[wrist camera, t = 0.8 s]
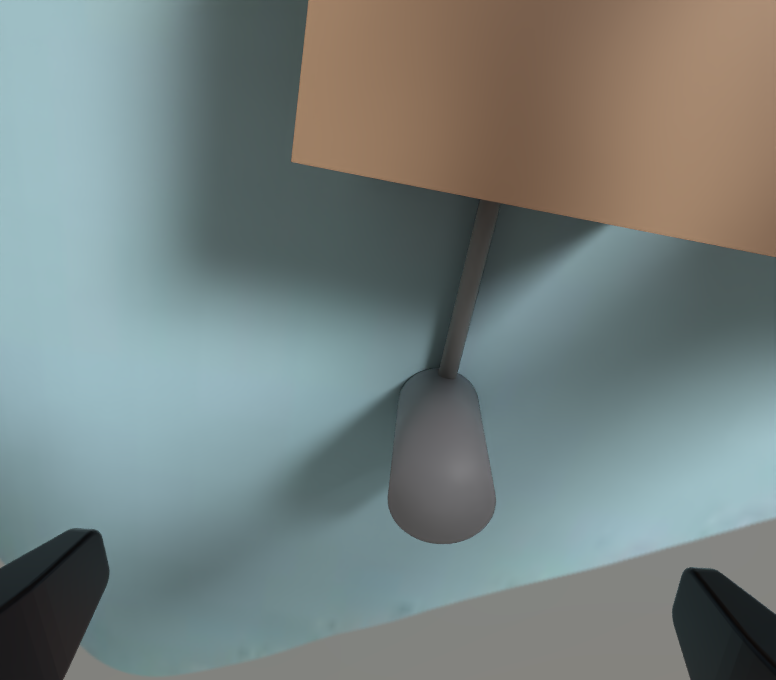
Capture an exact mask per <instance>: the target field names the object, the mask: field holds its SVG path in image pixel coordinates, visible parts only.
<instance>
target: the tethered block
mask: <svg viewBox="0 0 776 680" xmlns="http://www.w3.org/2000/svg"><path fill="white" fill-rule="evenodd" d="M500 204H501V203H498V202H493V201H487V200H482V199H480V202H479V206H478V210H477V214H476V218H475V222H474V227H473V231H472V235H471V239H470V243H469V247H468V251H467V256H466V260H465V264H464V268H463V272H462V276H461V280H460V285H459V289H458V293H457V297H456V301H455V305H454V309H453V314H452V318H451V322H450V326H449V330H448V334H447V338H446V343H445V347H444V351H443V355H442V359H441V363H440V367H439V368H434V369H428V370H424V371H422V372H419V373H417V374H415V375H414V376H413V377H411V378H410V379H409V380H408V381H407V382H406V383H405V385H404V386H403V388H402V390H401V392H400V395H399V400H398V408H397V417H396V426H395V435H394V445H393V454H392V463H391V472H390V481H389V490H388V506H389V510H390V513H391V515H392V517H393V519H394V520H395V522H396V523H397V524H398V526H399V527H400V528H401V529H402V530H404V531H405V532H406V533H408V534H409V535H411V536H413V537H415V538H417V539H419V540H422V541H425V542H429V543H435V544H451V543H457V542H460V541H464V540H466V539H469V538H471V537H473V536H474V535H476V534H477V533H479V532H480V531H481V530H482V529H483V528H484V527H485V526H486V525H487V524H488V523H489V521H490V519H491V518H492V516H493V513H494V510H495V505H496V497H495V490H494V485H493V479H492V474H491V468H490V462H489V457H488V451H487V446H486V440H485V435H484V429H483V423H482V418H481V412H480V407H479V401H478V396H477V393H476V391H475V389H474V387H473V385H472V384H471V383H470V381H468V380H467V379H466V378H465V377H464V376H462V375H461V374H459V373H457V372H458V368H459V364H460V360H461V356H462V353H463V349H464V345H465V341H466V337H467V333H468V329H469V325H470V321H471V317H472V314H473V310H474V306H475V302H476V298H477V294H478V290H479V286H480V282H481V278H482V275H483V271H484V267H485V263H486V259H487V255H488V251H489V247H490V243H491V239H492V236H493V232H494V228H495V224H496V220H497V216H498V212H499V208H500Z"/></svg>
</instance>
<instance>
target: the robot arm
mask: <svg viewBox="0 0 776 680" xmlns="http://www.w3.org/2000/svg"><path fill="white" fill-rule="evenodd" d="M108 579H109V565H108V561H107V556H106V552H105V547H104V543H103V539H102V535H101V534H100V532H99V531H97V530H95V529H82V528H74V529H70V530H67V531H66V532H64V533H62V534H60V535H58V536H57V537H55V538H53V539H51V540H50V541H48V542H46V543H44V544H42V545H41V546H39V547H37V548H35V549H34V550H32V551H30V552H28V553H26V554H25V555H23V556H21V557H19V558H18V559H16V560H14V561H12V562H10V563H9V564H7V565H5V566H3V567H2V568H0V680H63V679H64V677H65V675H66V673H67V671H68V669H69V667H70V664H71V662H72V660H73V658H74V655H75V653H76V651H77V649H78V647H79V645H80V643H81V640H82V638H83V636H84V634H85V632H86V629H87V627H88V625H89V623H90V621H91V618H92V616H93V614H94V612H95V610H96V608H97V605H98V603H99V601H100V599H101V597H102V594H103V592H104V590H105V588H106V585H107V583H108ZM672 617H673V623H674V627H675V630H676V633H677V637H678V640H679V644H680V647H681V650H682V653H683V657H684V660H685V663H686V667H687V670H688V673H689V676H690V679H691V680H776V614H775V613H773V612H772V611H771V610H769V609H768V608H767V607H765V606H764V605H763V604H761V603H760V602H759V601H758V600H756V599H755V598H754V597H752V596H751V595H750V594H748V593H747V592H746V591H744V590H743V589H742V588H740V587H739V586H738V585H736V584H735V583H734V582H732V581H731V580H730V579H728V578H727V577H726V576H724V575H723V574H722V573H720V572H719V571H717V570H715V569H710V568H694V567H690V568H686V569H685V570H684V572H683V574H682V576H681V580H680V583H679V587H678V590H677V594H676V597H675V601H674V604H673V609H672Z"/></svg>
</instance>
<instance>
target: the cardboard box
mask: <svg viewBox="0 0 776 680" xmlns="http://www.w3.org/2000/svg"><path fill="white" fill-rule="evenodd" d="M291 162H294V163H299V164H304V165H309V166H314V167H320V168H325V169H330V170H335V171H340V172H345V173H350V174H355V175H360V176H365V177H370V178H375V179H381V180H386V181H391V182H396V183H401V184H406V185H411V186H416V187H421V188H426V189H431V190H437V191H442V192H447V193H452V194H457V195H462V196H467V197H472V198H477V199H482V200H487V201H493V202H498V203H503V204H508V205H513V206H518V207H523V208H528V209H533V210H538V211H543V212H549V213H554V214H559V215H564V216H569V217H574V218H579V219H584V220H589V221H594V222H599V223H604V224H610V225H615V226H620V227H625V228H630V229H635V230H640V231H645V232H650V233H655V234H660V235H666V236H671V237H676V238H681V239H686V240H691V241H696V242H701V243H706V244H711V245H716V246H722V247H727V248H732V249H737V250H742V251H747V252H752V253H757V254H762V255H767V256H772V257H776V0H309V1H308V10H307V19H306V28H305V38H304V47H303V56H302V65H301V75H300V84H299V93H298V102H297V112H296V121H295V130H294V140H293V149H292V158H291Z"/></svg>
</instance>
